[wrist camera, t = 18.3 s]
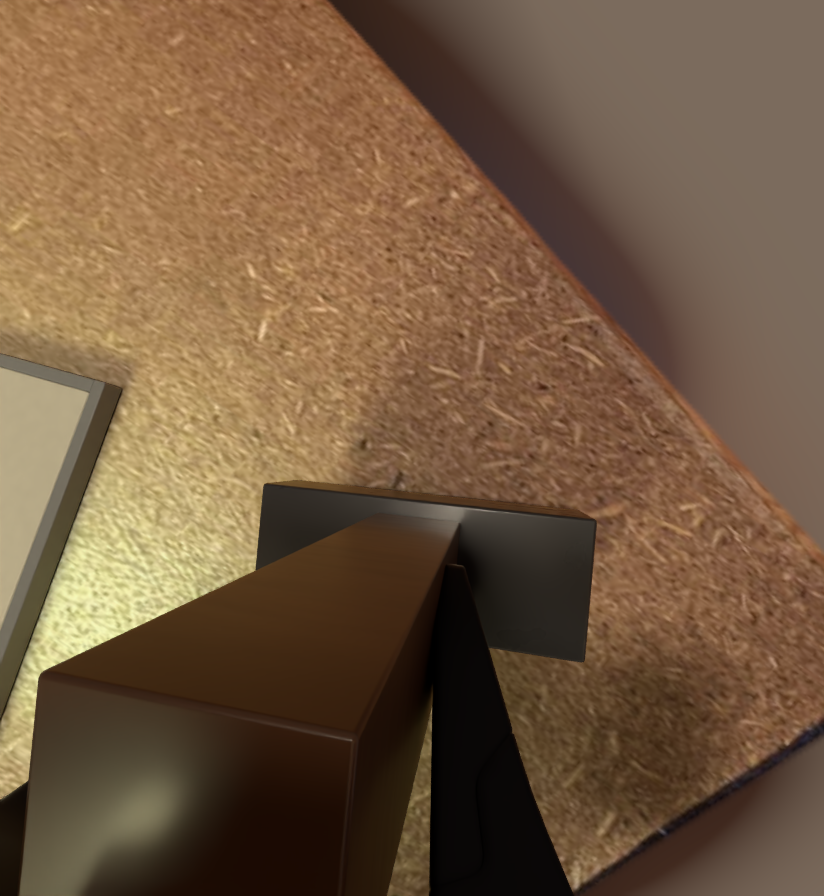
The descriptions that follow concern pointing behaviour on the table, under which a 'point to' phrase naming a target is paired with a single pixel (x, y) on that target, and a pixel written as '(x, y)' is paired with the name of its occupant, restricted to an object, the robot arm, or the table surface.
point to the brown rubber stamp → (285, 699)
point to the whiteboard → (40, 486)
